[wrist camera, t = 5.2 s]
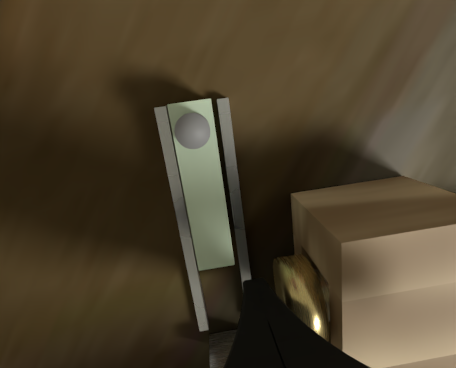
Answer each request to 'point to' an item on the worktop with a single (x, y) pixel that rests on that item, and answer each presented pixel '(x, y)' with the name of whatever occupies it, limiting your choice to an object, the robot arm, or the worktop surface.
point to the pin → (303, 291)
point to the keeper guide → (217, 341)
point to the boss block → (384, 268)
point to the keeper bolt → (202, 182)
